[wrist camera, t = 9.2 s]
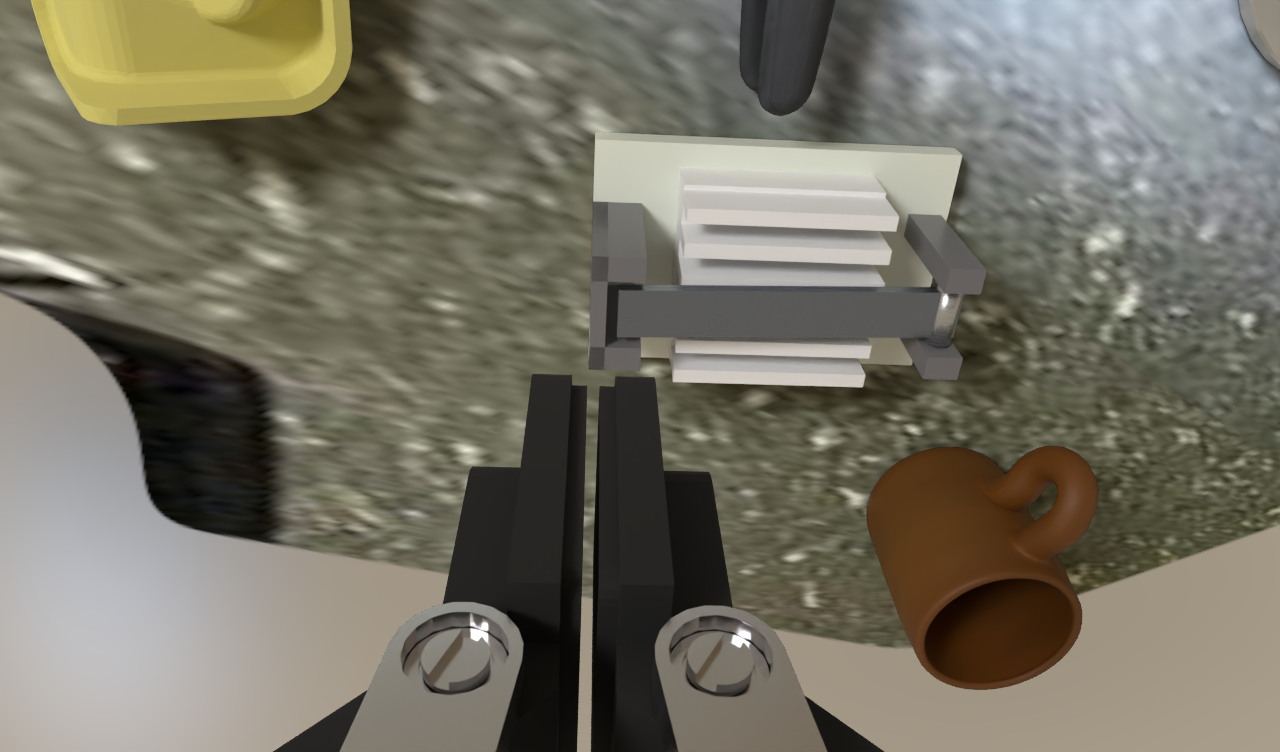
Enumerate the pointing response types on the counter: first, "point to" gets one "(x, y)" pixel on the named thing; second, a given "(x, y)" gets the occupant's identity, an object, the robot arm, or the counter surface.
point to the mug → (982, 560)
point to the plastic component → (195, 56)
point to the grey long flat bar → (787, 312)
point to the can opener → (782, 49)
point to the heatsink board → (772, 245)
